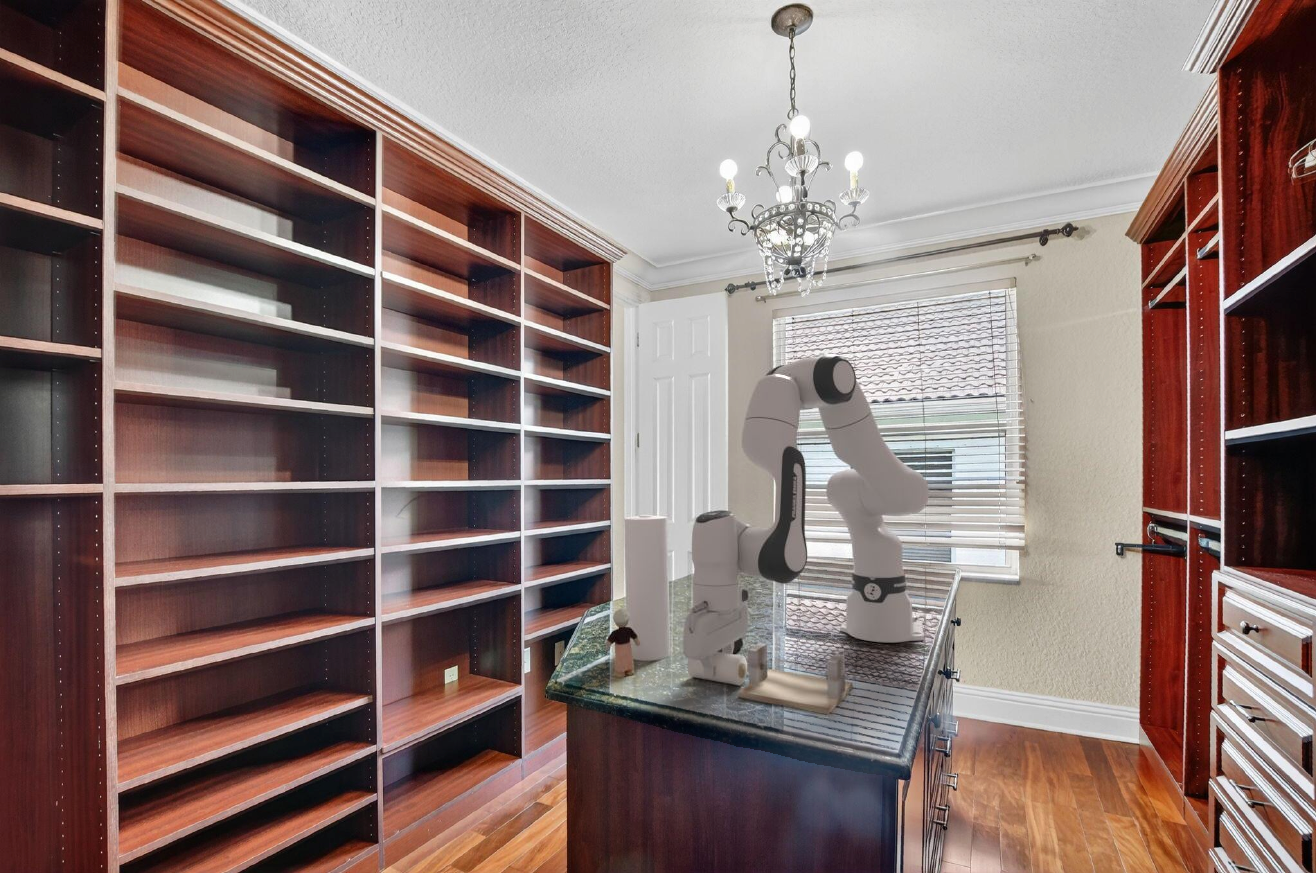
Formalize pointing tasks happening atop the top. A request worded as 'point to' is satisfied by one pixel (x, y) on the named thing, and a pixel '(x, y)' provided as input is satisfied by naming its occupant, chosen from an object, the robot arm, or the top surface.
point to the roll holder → (795, 684)
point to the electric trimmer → (735, 646)
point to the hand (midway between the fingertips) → (718, 671)
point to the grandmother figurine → (622, 644)
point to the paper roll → (722, 668)
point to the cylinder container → (647, 585)
